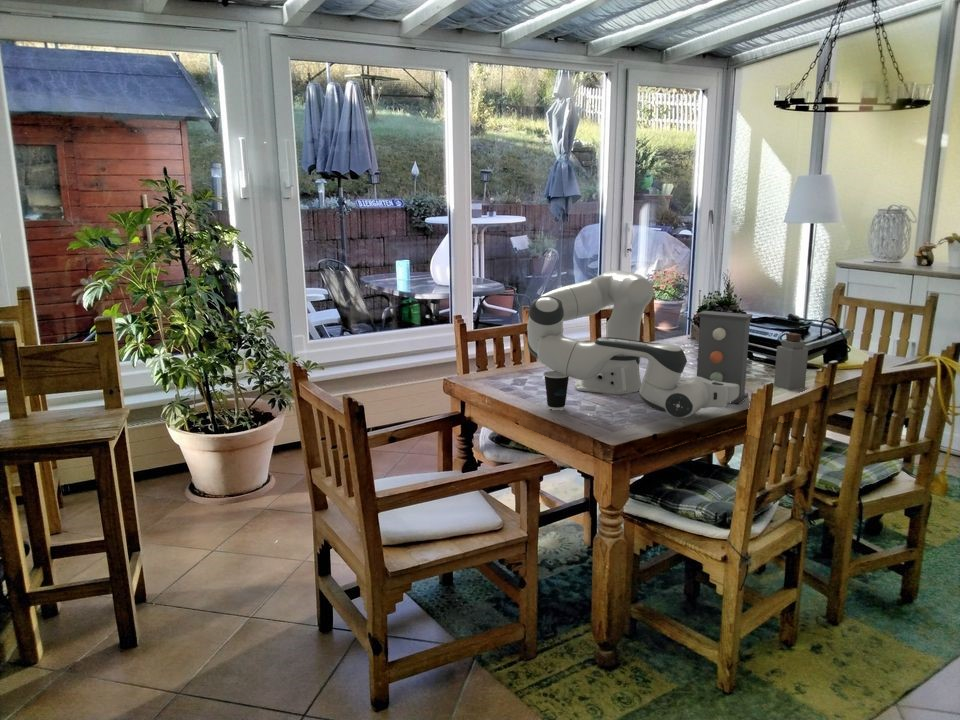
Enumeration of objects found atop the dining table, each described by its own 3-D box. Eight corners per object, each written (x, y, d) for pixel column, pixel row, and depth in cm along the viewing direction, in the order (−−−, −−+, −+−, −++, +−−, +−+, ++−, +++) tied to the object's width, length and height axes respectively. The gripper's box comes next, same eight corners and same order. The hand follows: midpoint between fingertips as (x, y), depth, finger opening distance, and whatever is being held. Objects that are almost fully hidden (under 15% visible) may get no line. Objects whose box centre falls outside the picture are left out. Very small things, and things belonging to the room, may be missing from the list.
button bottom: (709, 383, 229) (710, 372, 229) (712, 381, 232) (713, 370, 231) (721, 384, 227) (721, 373, 227) (724, 382, 230) (724, 371, 229)
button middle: (709, 362, 227) (710, 351, 226) (712, 360, 229) (713, 349, 228) (721, 363, 225) (721, 352, 224) (724, 361, 227) (725, 350, 226)
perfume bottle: (789, 383, 250) (794, 331, 246) (804, 388, 244) (809, 335, 240) (773, 385, 248) (778, 333, 243) (788, 390, 241) (793, 336, 237)
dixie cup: (561, 413, 219) (561, 378, 217) (538, 409, 224) (538, 374, 221) (573, 407, 226) (574, 372, 223) (551, 403, 230) (551, 369, 228)
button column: (691, 397, 235) (696, 314, 228) (701, 390, 243) (706, 309, 237) (739, 404, 226) (745, 318, 220) (747, 396, 235) (754, 313, 228)
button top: (712, 339, 226) (712, 328, 225) (715, 337, 229) (716, 326, 228) (724, 340, 224) (724, 329, 223) (727, 338, 227) (727, 327, 226)
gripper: (661, 397, 219) (676, 387, 230) (730, 408, 207) (743, 396, 219) (661, 377, 217) (677, 367, 228) (732, 386, 206) (745, 376, 217)
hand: (710, 381), depth 223 cm, fingers closed
